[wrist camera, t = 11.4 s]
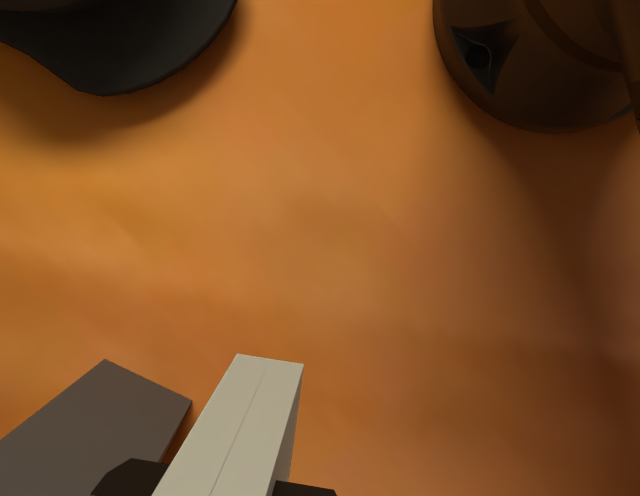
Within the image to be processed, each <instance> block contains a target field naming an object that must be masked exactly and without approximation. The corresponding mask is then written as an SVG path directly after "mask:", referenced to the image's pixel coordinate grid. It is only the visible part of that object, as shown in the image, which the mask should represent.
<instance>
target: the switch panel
mask: <svg viewBox="0 0 640 496" xmlns="http://www.w3.org/2000/svg"><path fill="white" fill-rule="evenodd" d="M191 402H192V400H190V399H188V398H186V397H184V396H182V395H179V394H177V393H175V392H173V391H171V390H169V389H167V388H165V387H163V386H161V385H158V384H156V383H154V382H152V381H150V380H148V379H146V378H144V377H142V376H139V375H137V374H135V373H133V372H131V371H129V370H127V369H125V368H123V367H121V366H118V365H116V364H114V363H112V362H110V361H108V360H106V359H104V360H103V361H101V362H100V363H99V364H98V365H96V366H95V367H94V368H92V369H91V370H90V371H89V372H87V373H86V374H85V375H83V376H82V377H81V378H80V379H78V380H77V381H76V382H74V383H73V384H72V385H71V386H69V387H68V388H67V389H65V390H64V391H63V392H62V393H60V394H59V395H58V396H56V397H55V398H54V399H53V400H51V401H50V402H49V403H47V404H46V405H45V406H44V407H42V408H41V409H40V410H38V411H37V412H36V413H35V414H33V415H32V416H31V417H29V418H28V419H27V420H26V421H24V422H23V423H22V424H20V425H19V426H18V427H17V428H15V429H14V430H13V431H11V432H10V433H9V434H8V435H6V436H5V437H4V438H2V439H1V440H0V496H90V494H91V492H92V491H93V490H94V488H95V487H96V486H97V484H98V483H99V482H100V480H101V479H102V478H103V477H104V475H105V474H106V473H107V472H109V471H110V470H112V469H114V468H115V467H117V466H119V465H120V464H122V463H124V462H125V461H127V460H128V459H130V458H135V459H141V460H147V461H153V462H159V463H161V462H162V460H163V458H164V456H165V454H166V452H167V450H168V448H169V446H170V444H171V442H172V440H173V438H174V436H175V434H176V432H177V430H178V428H179V426H180V424H181V422H182V420H183V418H184V416H185V414H186V412H187V410H188V408H189V406H190V404H191Z"/></svg>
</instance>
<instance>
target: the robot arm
mask: <svg viewBox="0 0 640 496" xmlns="http://www.w3.org/2000/svg"><path fill="white" fill-rule="evenodd" d="M433 19H434V28H435V33H436V38H437V42H438V45H439V49H440V51H441V54H442V57H443V59H444V61H445V64H446V66H447V68H448V69H449V71H450V73H451V75H452V76H453V78H454V80H455V81H456V82H457V84H458V85H459V86H460V88H461V89H462V90H463V91H464V92H465V94H466V95H467V96H468V97H469V98H470V99H471V100H472V101H473V102H474V103H476V104H477V105H478V106H479V107H480V108H482V109H483V110H484V111H486V112H487V113H488V114H490V115H492V116H493V117H495V118H497V119H499V120H501V121H502V122H505V123H507V124H509V125H512V126H515V127H518V128H521V129H524V130H528V131H534V132H541V133H567V132H574V131H579V130H584V129H587V128H591V127H595V126H598V125H602V124H605V123H608V122H611V121H613V120H616V119H618V118H620V117H622V116H625V115H626V114H628V113H630V112H632V111H634V113H635V117H636V124H637V127H638V131H639V134H640V0H433ZM303 368H304V364H300V363H293V362H287V361H280V360H274V359H268V358H261V357H255V356H249V355H242V354H237V355H236V356H235V358H234V360H233V361H232V363H231V365H230V366H229V368H228V370H227V371H226V373H225V375H224V376H223V378H222V379H221V381H220V383H219V384H218V386H217V388H216V389H215V391H214V393H213V394H212V396H211V398H210V399H209V401H208V403H207V404H206V406H205V408H204V409H203V411H202V413H201V414H200V416H199V418H198V419H197V421H196V423H195V424H194V426H193V428H192V429H191V431H190V433H189V434H188V436H187V438H186V439H185V441H184V443H183V444H182V446H181V448H180V449H179V451H178V452H177V454H176V456H175V457H174V459H173V461H172V462H171V464H165V463H159V462H153V461H147V460H141V459H135V458H130V459H128V460H127V461H125V462H124V463H122V464H120V465H119V466H117V467H115V468H114V469H112V470H110V471H109V472H107V473H106V474H105V475H104V477H103V478H102V479H101V480H100V482H99V483H98V484H97V486H96V487H95V488H94V490H93V491H92V492H91V494H90V496H337V495H336V493H335V491H334V490H332V489H326V488H320V487H314V486H308V485H302V484H296V483H290V482H288V479H289V474H290V466H291V459H292V451H293V443H294V436H295V428H296V421H297V413H298V406H299V398H300V390H301V383H302V375H303Z"/></svg>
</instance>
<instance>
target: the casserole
mask: <svg viewBox="0 0 640 496" xmlns="http://www.w3.org/2000/svg"><path fill="white" fill-rule="evenodd" d="M236 2H237V0H0V41H1V42H3V43H5V44H7V45H9V46H11V47H13V48H15V49H17V50H19V51H22V52H24V53H26V54H27V55H29V56H30V57H32V58H33V59H34V60H36V61H37V62H39V63H40V64H41V65H43V66H44V67H45V68H47V69H48V70H50V71H51V72H52V73H54V74H55V75H57V76H58V77H59V78H61V79H62V80H64V81H65V82H66V83H68V84H69V85H70V86H72V87H73V88H75V89H76V90H77V91H81V92H86V93H90V94H94V95H99V96H111V95H119V94H128V93H132V92H135V91H138V90H140V89H143V88H146V87H149V86H152V85H155V84H158V83H159V82H161V81H163V80H165V79H166V78H168V77H170V76H171V75H173V74H175V73H177V72H178V71H180V70H182V69H183V68H185V67H186V66H188V65H189V64H190V63H191V62H192V61H193V60H194V59H195V58H196V57H198V56H199V55H200V54H201V53H202V52H203V51H204V50H205V49H206V48H208V47H209V46H210V44H211V43H212V42H213V40H214V39H215V38H216V36H217V35H218V34H219V32H220V31H221V30H222V28H223V27H224V26H225V25H226V23H227V22H228V20H229V18H230V15H231V13H232V11H233V9H234V7H235V5H236Z"/></svg>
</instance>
